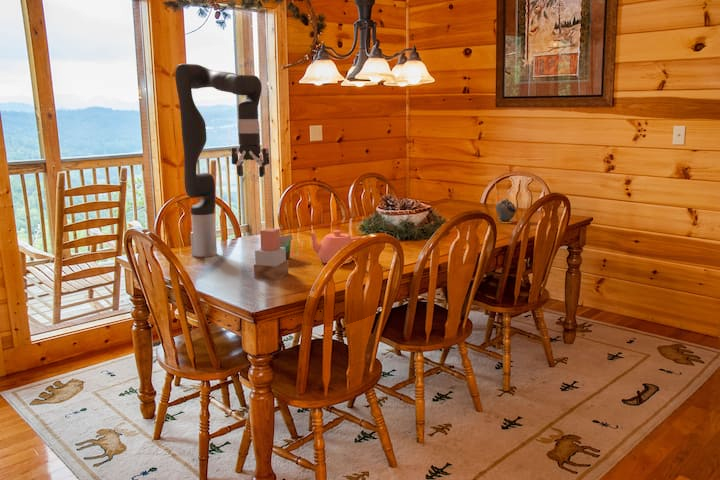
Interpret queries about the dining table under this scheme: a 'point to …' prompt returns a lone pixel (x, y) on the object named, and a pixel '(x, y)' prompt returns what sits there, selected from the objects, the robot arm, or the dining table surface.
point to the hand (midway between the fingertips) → (251, 176)
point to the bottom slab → (271, 271)
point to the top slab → (270, 257)
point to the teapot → (331, 244)
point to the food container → (286, 244)
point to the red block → (270, 239)
